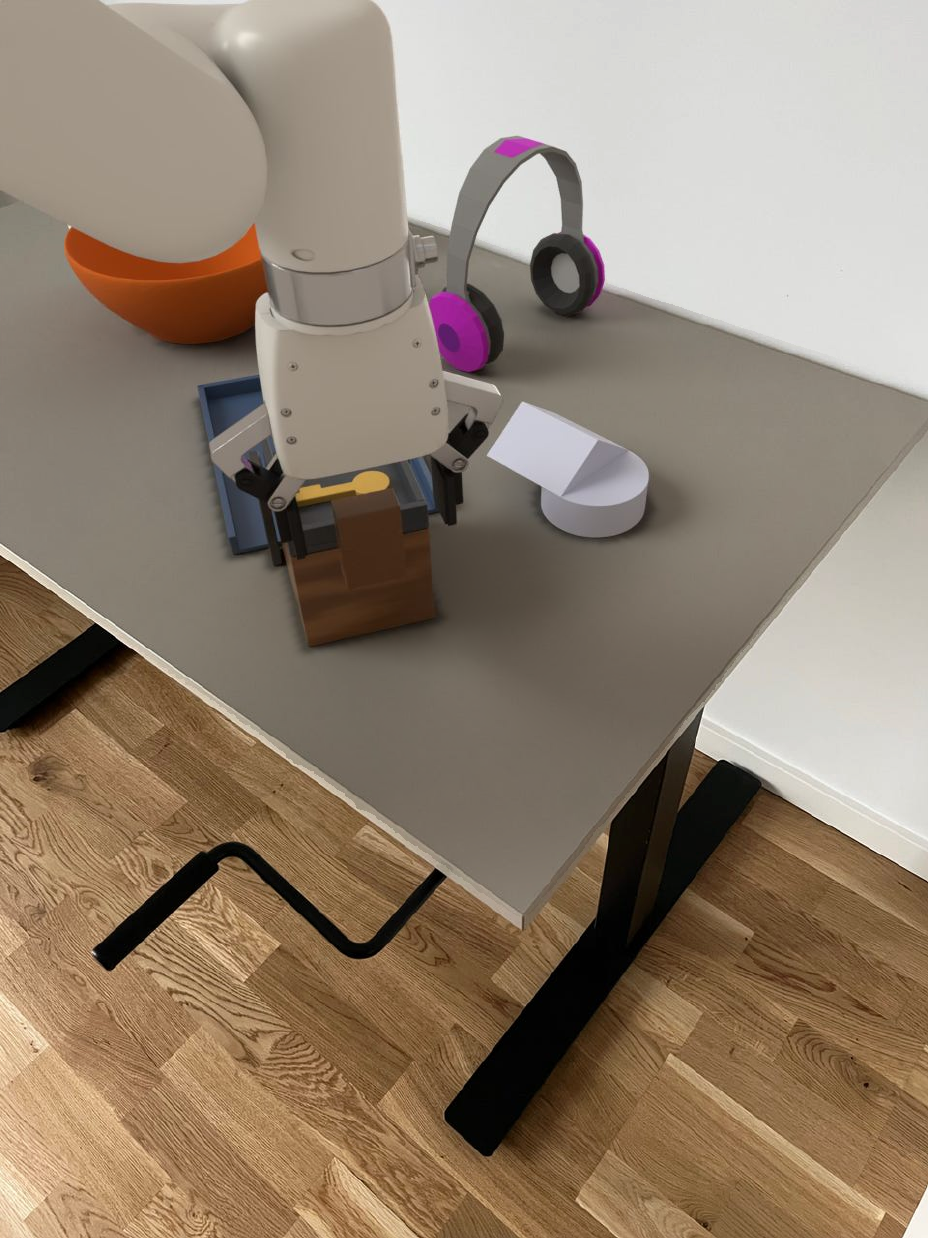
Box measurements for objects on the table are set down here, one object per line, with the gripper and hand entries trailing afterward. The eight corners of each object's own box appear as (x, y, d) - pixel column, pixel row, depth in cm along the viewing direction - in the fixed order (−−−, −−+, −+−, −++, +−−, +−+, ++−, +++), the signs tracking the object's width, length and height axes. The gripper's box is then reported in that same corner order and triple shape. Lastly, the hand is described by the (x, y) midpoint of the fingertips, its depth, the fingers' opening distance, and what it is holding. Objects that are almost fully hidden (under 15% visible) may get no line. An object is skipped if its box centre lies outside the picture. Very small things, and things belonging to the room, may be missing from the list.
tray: (441, 511, 86) (440, 493, 85) (232, 555, 82) (228, 537, 81) (376, 369, 103) (375, 353, 101) (201, 401, 99) (197, 385, 98)
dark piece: (450, 577, 66) (447, 496, 62) (304, 610, 65) (288, 529, 60) (389, 435, 78) (381, 358, 73) (264, 460, 76) (248, 382, 72)
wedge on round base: (486, 486, 88) (599, 552, 82) (486, 422, 83) (605, 487, 77) (553, 443, 93) (665, 502, 86) (556, 380, 88) (675, 438, 81)
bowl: (60, 372, 104) (28, 282, 97) (125, 264, 122) (102, 181, 114) (297, 371, 103) (282, 280, 96) (327, 262, 121) (317, 178, 113)
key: (385, 473, 74) (384, 467, 73) (394, 495, 72) (393, 489, 71) (293, 492, 72) (292, 485, 72) (299, 515, 71) (298, 508, 70)
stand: (448, 614, 77) (443, 514, 70) (294, 650, 75) (272, 550, 67) (409, 520, 85) (401, 422, 78) (269, 549, 83) (247, 451, 76)
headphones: (548, 290, 114) (555, 104, 100) (609, 314, 110) (625, 123, 95) (420, 360, 104) (407, 164, 90) (480, 390, 99) (477, 189, 85)
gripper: (477, 218, 55) (484, 468, 67) (163, 271, 52) (230, 522, 64) (521, 277, 50) (520, 536, 62) (176, 339, 47) (246, 598, 59)
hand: (373, 528), depth 63 cm, fingers open, 9 cm apart
